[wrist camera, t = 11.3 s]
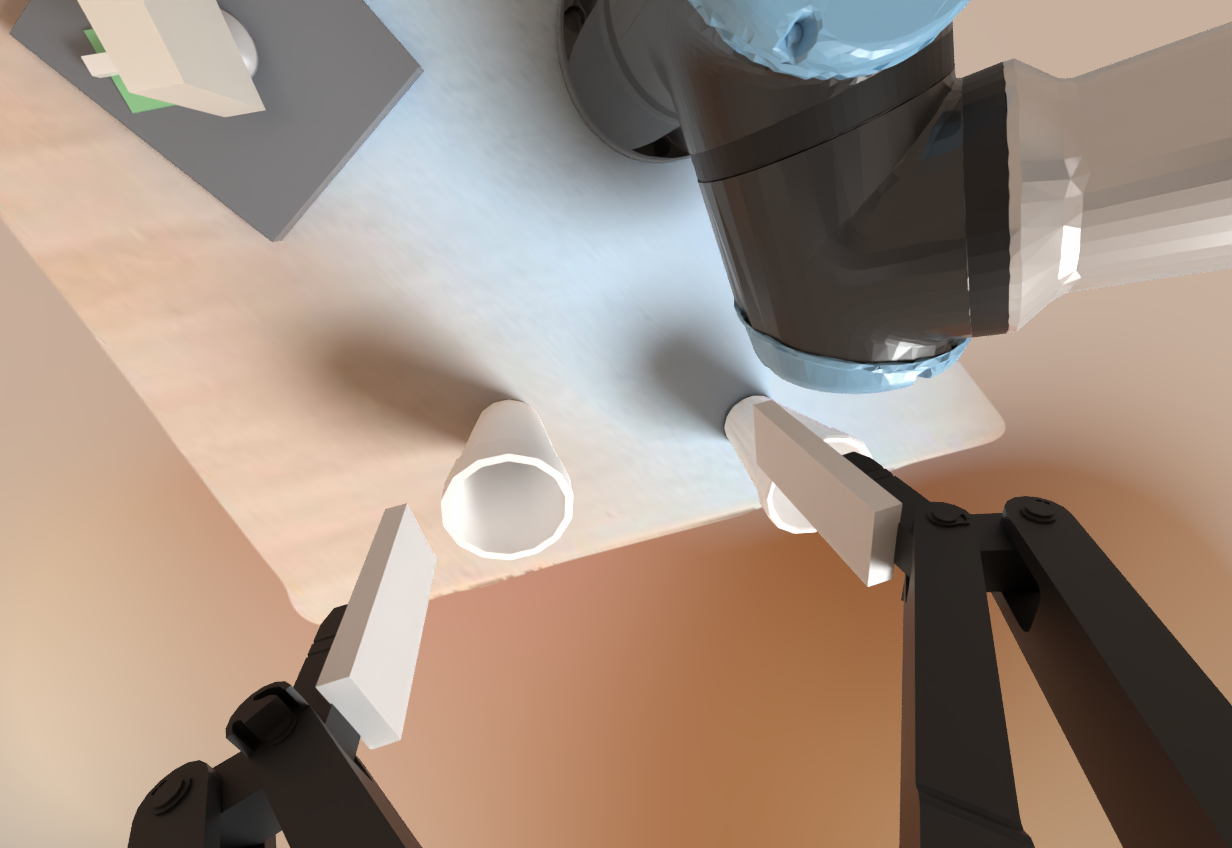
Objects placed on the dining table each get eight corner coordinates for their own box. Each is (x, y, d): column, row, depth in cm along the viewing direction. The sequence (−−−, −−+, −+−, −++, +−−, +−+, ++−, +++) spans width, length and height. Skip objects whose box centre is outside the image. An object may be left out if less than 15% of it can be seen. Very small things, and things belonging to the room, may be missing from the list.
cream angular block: (59, -6, 26) (-173, -107, 17) (227, -30, 27) (88, -139, 18) (142, 139, 29) (-16, 116, 20) (289, 113, 30) (198, 80, 21)
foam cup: (456, 383, 42) (436, 455, 30) (558, 384, 44) (575, 451, 32) (462, 472, 46) (446, 564, 34) (555, 469, 48) (569, 555, 36)
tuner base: (188, -198, 25) (167, -223, 23) (423, 70, 31) (419, 64, 30) (33, 41, 27) (5, 32, 26) (281, 240, 34) (271, 242, 33)
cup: (706, 385, 47) (769, 448, 36) (796, 370, 48) (884, 425, 37) (706, 467, 52) (762, 545, 40) (788, 450, 53) (865, 521, 42)
